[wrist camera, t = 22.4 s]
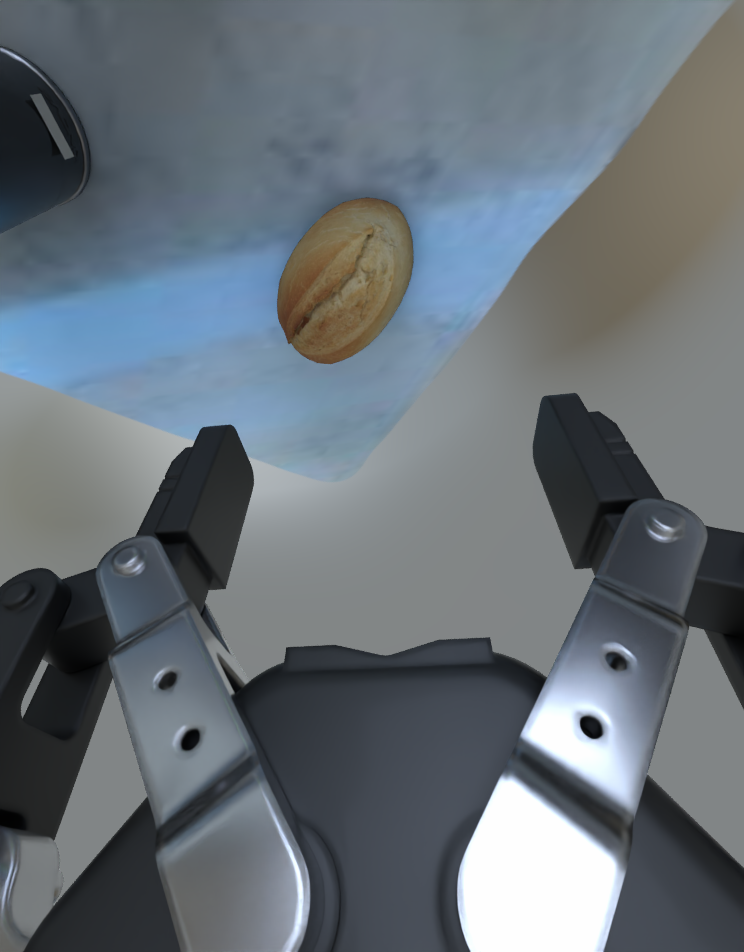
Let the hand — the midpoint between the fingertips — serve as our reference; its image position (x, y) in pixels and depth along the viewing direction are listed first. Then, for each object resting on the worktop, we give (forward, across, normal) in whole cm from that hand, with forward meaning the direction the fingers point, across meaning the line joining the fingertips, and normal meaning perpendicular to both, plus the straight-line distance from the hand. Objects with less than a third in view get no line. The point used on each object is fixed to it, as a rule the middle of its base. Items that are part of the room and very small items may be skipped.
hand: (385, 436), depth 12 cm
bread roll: (+32, +4, +7) cm, 33 cm away
